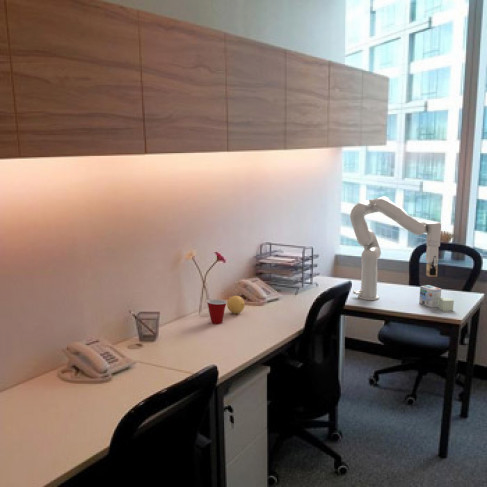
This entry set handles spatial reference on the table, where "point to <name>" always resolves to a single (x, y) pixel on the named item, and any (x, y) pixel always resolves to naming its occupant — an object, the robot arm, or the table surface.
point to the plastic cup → (216, 310)
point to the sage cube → (445, 304)
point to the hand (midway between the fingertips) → (431, 273)
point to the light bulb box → (429, 295)
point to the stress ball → (235, 304)
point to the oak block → (429, 270)
